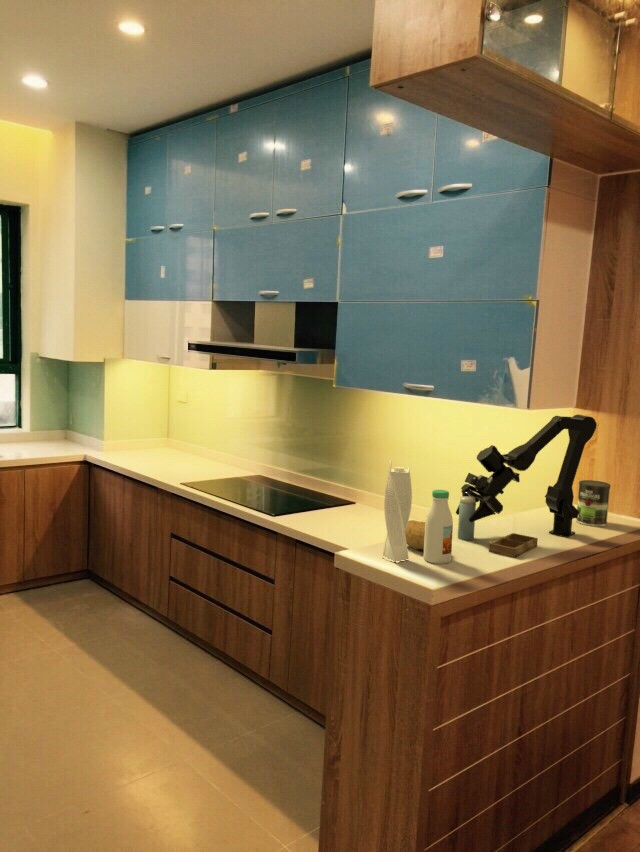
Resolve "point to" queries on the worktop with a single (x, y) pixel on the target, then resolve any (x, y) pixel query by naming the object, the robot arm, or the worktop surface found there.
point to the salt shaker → (466, 518)
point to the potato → (415, 534)
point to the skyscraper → (397, 512)
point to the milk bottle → (438, 529)
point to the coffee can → (593, 502)
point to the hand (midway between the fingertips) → (463, 517)
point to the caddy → (513, 545)
